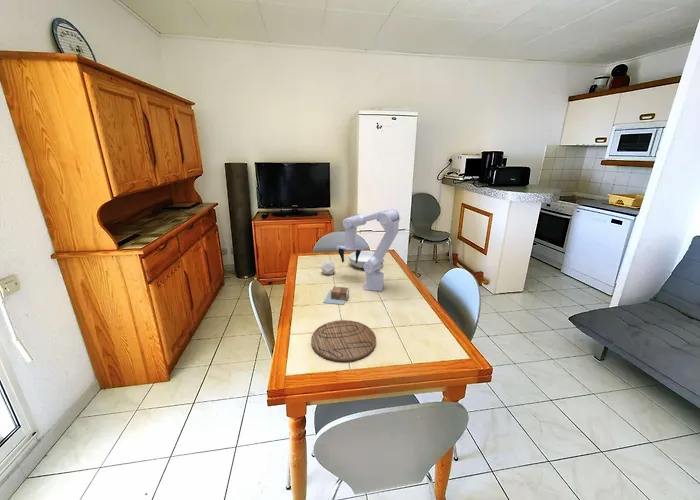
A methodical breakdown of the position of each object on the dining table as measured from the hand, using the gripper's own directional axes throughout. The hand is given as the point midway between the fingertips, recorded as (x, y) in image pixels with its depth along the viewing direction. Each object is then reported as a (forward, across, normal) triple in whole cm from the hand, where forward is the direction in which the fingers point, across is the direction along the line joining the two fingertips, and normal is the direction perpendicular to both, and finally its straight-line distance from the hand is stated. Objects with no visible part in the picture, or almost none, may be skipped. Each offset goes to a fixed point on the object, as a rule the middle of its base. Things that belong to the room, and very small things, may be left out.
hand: (349, 262), depth 169 cm
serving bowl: (+11, +6, +23) cm, 26 cm away
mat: (+10, -2, -23) cm, 25 cm away
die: (+11, -14, +6) cm, 19 cm away
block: (+8, +3, -23) cm, 25 cm away
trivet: (+11, +8, -58) cm, 59 cm away
